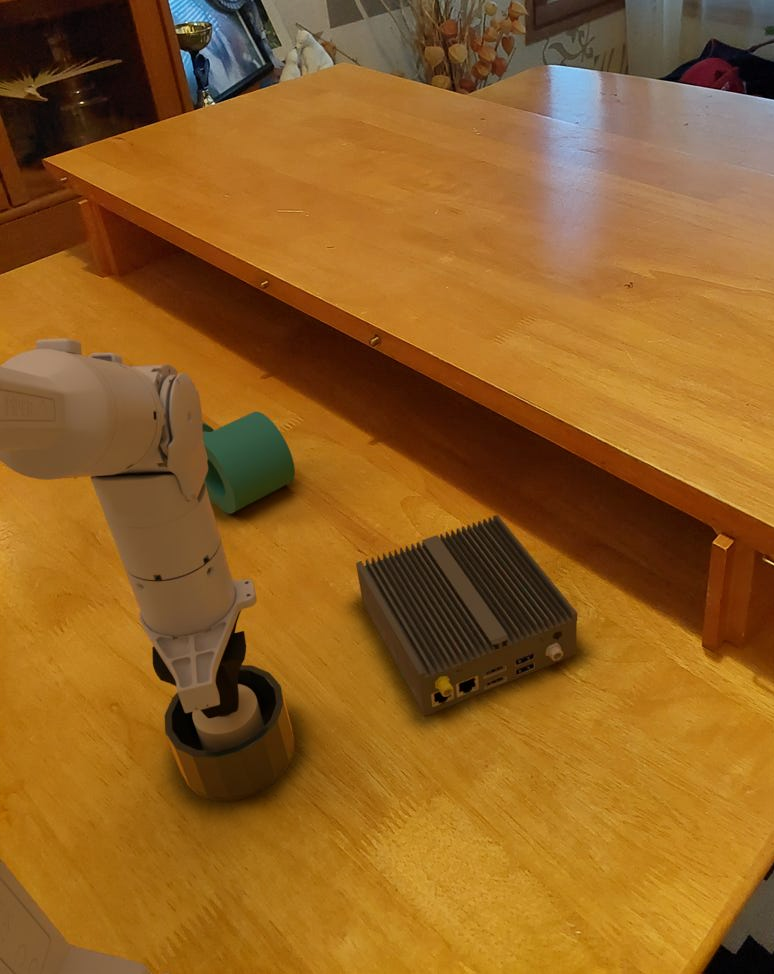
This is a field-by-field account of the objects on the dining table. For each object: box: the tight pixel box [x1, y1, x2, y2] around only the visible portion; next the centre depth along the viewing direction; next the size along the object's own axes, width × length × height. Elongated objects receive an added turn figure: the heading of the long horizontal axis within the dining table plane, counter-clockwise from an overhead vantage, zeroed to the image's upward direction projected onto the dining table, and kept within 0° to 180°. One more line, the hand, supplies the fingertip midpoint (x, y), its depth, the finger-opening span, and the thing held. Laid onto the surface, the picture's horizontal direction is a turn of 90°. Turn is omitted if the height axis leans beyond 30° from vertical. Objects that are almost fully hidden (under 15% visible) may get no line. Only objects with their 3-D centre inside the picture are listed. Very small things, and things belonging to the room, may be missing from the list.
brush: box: [192, 684, 265, 751], centre depth 63 cm, size 4×4×8 cm
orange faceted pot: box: [164, 664, 296, 803], centre depth 65 cm, size 8×8×5 cm
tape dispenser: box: [202, 411, 296, 515], centre depth 92 cm, size 7×15×8 cm, turn 43°
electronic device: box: [355, 514, 578, 717], centre depth 74 cm, size 13×15×5 cm
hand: (221, 699), depth 63 cm, fingers closed on brush
